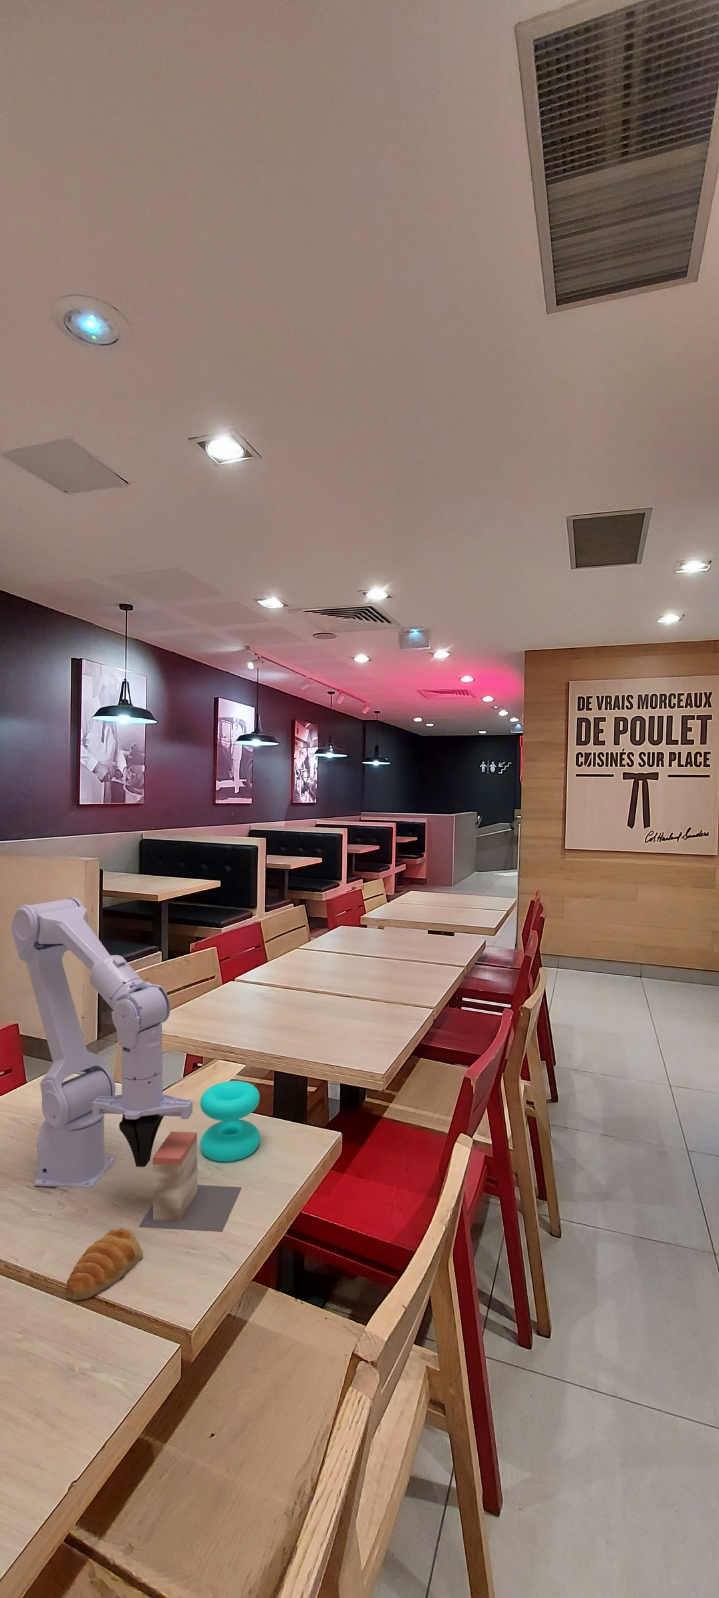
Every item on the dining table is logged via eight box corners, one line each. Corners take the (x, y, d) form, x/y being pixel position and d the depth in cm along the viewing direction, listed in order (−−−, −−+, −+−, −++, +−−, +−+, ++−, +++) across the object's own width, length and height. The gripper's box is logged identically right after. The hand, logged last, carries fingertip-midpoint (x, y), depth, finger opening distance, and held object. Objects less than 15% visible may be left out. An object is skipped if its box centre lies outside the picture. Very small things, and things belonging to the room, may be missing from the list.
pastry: (95, 1313, 76) (94, 1281, 76) (51, 1298, 79) (50, 1267, 79) (147, 1259, 85) (146, 1230, 85) (106, 1247, 88) (105, 1219, 88)
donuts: (264, 1078, 116) (253, 1105, 106) (264, 1134, 116) (253, 1166, 106) (208, 1077, 116) (192, 1105, 106) (209, 1133, 116) (193, 1165, 106)
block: (153, 1220, 92) (152, 1157, 92) (171, 1189, 99) (171, 1131, 99) (180, 1221, 92) (179, 1158, 91) (197, 1191, 99) (196, 1132, 98)
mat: (138, 1229, 91) (138, 1226, 91) (166, 1186, 101) (166, 1183, 101) (222, 1234, 89) (222, 1231, 89) (241, 1190, 99) (241, 1187, 99)
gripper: (81, 1082, 92) (82, 1176, 92) (179, 1085, 91) (180, 1182, 91) (104, 1061, 99) (105, 1149, 99) (197, 1064, 98) (197, 1153, 98)
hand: (143, 1163), depth 96 cm, fingers closed
